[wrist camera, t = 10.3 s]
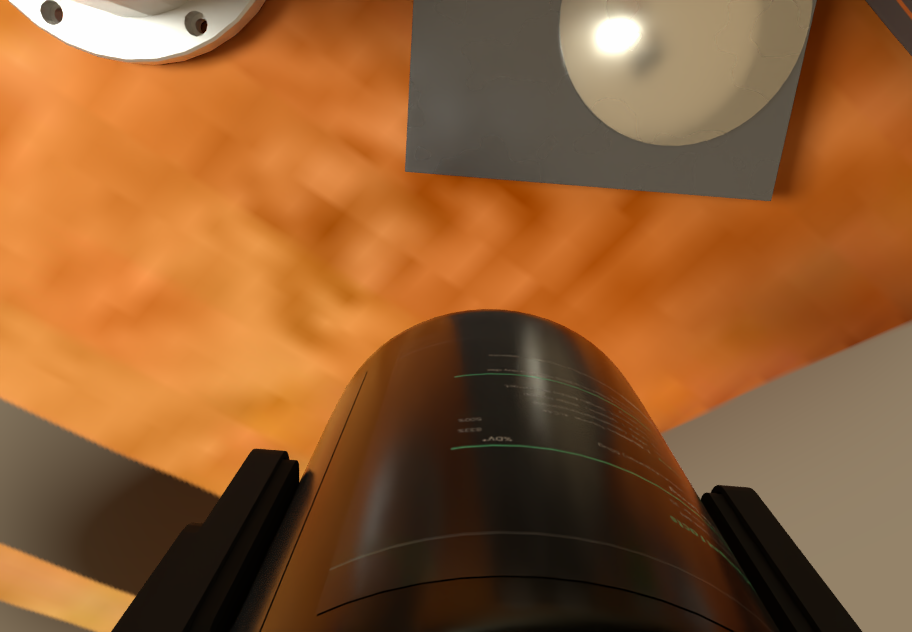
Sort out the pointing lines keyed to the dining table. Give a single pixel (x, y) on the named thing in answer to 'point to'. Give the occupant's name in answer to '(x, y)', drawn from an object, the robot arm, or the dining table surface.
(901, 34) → the electronic device
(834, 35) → the dining table surface
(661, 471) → the supplement bottle
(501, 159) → the breaker board
